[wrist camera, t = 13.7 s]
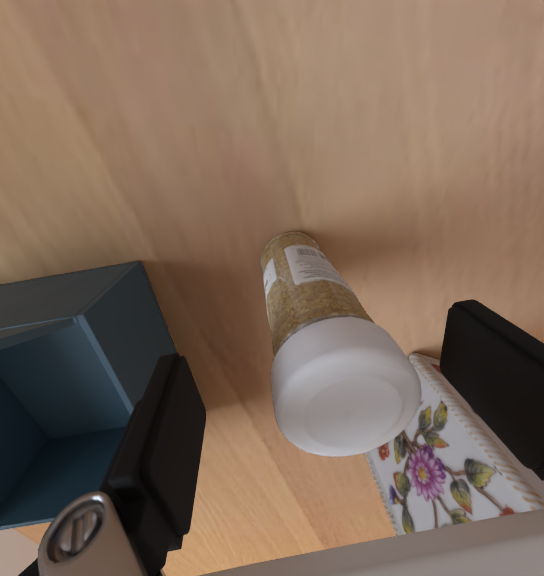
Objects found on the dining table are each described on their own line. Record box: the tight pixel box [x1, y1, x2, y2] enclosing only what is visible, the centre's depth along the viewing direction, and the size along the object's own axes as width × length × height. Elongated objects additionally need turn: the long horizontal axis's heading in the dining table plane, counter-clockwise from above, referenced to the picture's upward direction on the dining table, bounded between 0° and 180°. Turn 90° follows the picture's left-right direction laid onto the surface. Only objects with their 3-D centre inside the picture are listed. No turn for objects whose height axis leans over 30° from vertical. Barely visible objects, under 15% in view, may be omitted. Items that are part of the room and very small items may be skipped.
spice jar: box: [261, 231, 422, 457], centre depth 14 cm, size 5×5×13 cm
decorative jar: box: [365, 352, 544, 536], centre depth 20 cm, size 12×12×18 cm
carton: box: [0, 261, 177, 530], centre depth 20 cm, size 16×15×7 cm
